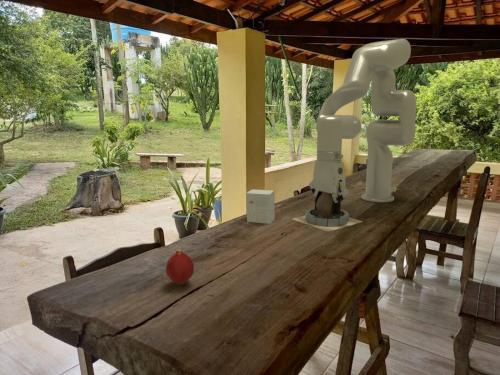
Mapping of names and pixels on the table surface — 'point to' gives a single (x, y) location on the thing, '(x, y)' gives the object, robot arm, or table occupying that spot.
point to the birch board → (350, 222)
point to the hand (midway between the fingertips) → (327, 211)
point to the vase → (325, 205)
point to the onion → (180, 268)
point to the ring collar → (326, 222)
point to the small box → (260, 206)
